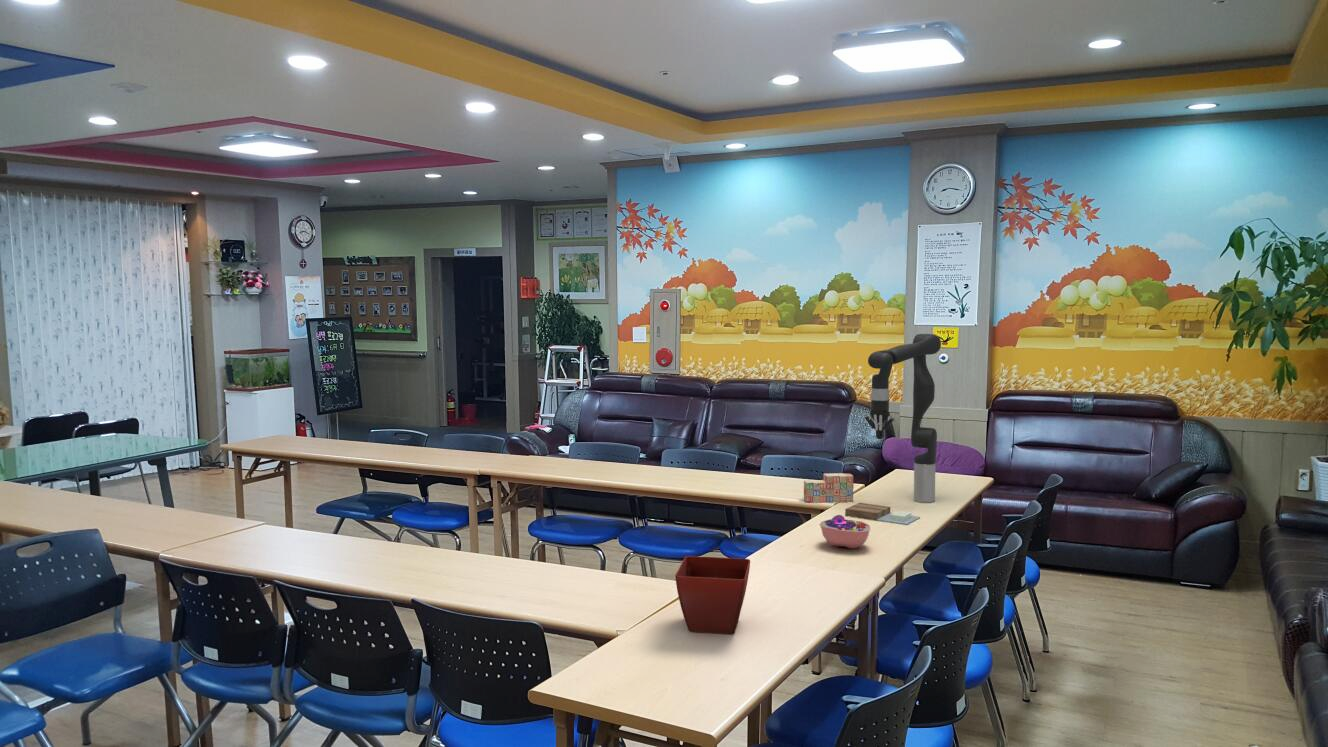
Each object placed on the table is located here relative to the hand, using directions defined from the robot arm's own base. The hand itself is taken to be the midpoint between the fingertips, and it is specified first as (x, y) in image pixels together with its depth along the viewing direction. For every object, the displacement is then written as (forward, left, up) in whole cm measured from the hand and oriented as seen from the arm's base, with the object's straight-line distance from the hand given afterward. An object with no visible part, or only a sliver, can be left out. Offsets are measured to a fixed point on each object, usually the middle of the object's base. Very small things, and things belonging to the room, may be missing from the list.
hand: (879, 438), depth 384 cm
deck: (+12, 0, -31) cm, 33 cm away
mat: (+12, +14, -31) cm, 36 cm away
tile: (+12, +14, -28) cm, 34 cm away
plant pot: (+157, +17, -31) cm, 161 cm away
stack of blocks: (-3, -25, -31) cm, 40 cm away
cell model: (+62, +13, -31) cm, 71 cm away
